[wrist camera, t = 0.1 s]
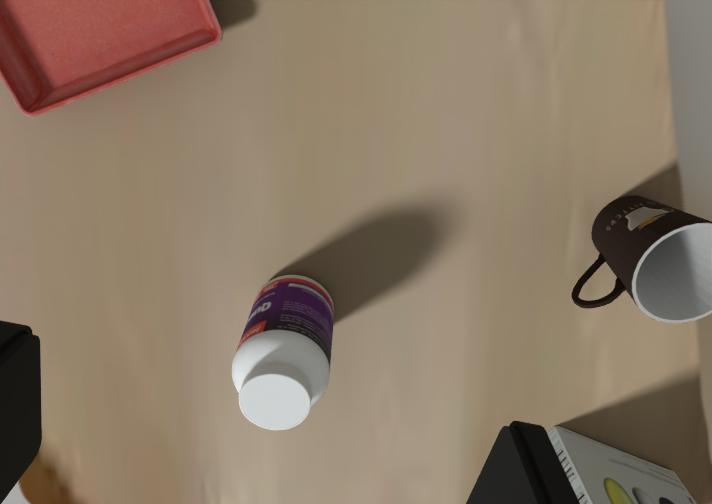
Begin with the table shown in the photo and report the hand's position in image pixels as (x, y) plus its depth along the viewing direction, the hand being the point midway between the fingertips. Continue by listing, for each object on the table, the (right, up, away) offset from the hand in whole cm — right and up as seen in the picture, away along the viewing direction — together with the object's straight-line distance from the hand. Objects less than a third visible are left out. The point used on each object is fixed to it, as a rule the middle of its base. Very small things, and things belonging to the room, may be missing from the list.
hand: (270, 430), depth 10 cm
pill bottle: (-4, -2, +41) cm, 42 cm away
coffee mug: (+26, +6, +38) cm, 46 cm away
